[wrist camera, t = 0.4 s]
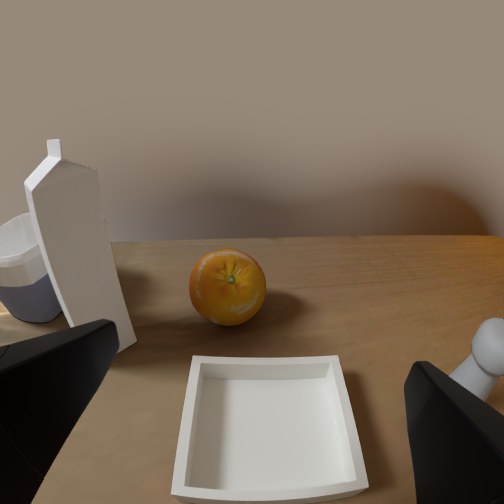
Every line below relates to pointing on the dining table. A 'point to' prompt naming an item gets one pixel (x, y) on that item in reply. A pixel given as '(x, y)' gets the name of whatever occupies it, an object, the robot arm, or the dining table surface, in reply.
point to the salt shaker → (483, 360)
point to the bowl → (25, 273)
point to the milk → (76, 242)
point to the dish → (267, 433)
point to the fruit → (227, 287)
